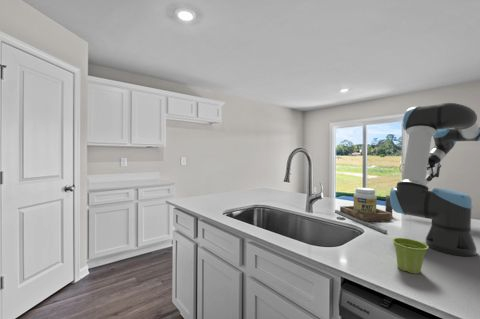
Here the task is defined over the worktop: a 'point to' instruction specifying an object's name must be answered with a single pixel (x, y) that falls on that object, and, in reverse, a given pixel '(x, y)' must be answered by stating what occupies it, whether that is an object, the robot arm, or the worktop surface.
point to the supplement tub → (365, 200)
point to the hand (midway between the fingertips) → (412, 182)
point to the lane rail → (362, 222)
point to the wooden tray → (377, 216)
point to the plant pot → (409, 254)
